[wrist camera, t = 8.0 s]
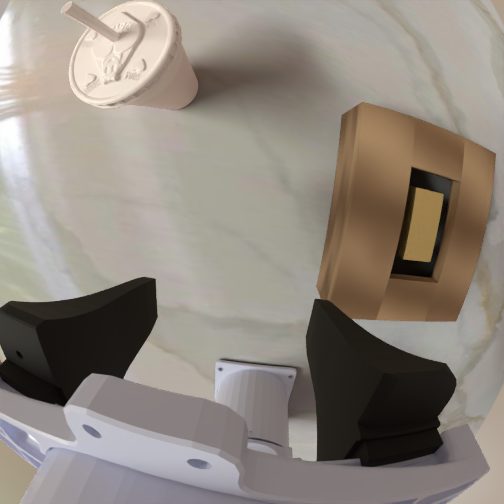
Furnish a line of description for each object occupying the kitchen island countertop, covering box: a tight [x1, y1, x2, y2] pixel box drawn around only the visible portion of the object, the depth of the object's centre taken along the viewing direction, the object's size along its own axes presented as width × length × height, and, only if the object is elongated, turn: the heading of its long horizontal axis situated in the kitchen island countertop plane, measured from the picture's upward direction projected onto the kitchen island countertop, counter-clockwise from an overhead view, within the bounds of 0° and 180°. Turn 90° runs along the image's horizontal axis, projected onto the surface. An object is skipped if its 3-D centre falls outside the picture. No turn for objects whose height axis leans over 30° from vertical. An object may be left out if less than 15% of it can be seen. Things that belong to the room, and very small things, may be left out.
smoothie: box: [61, 0, 198, 110], centre depth 12 cm, size 6×6×14 cm
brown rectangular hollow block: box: [317, 102, 496, 321], centre depth 18 cm, size 14×12×5 cm
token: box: [396, 186, 444, 262], centre depth 18 cm, size 5×2×4 cm, turn 176°
